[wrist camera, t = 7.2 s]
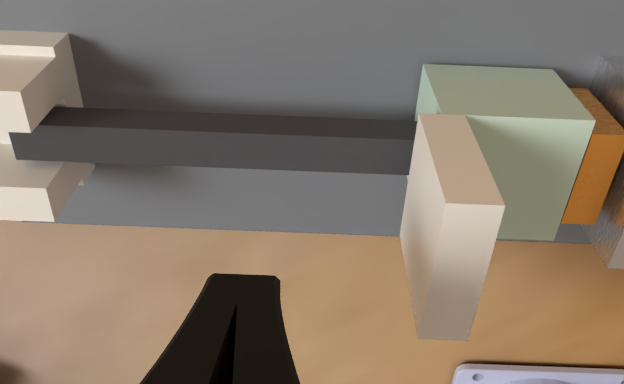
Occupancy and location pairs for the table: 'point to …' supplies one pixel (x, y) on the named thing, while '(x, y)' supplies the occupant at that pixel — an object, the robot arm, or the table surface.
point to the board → (259, 95)
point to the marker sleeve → (483, 180)
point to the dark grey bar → (219, 140)
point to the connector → (602, 164)
